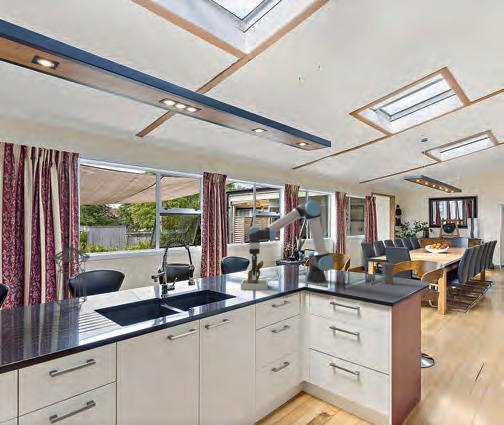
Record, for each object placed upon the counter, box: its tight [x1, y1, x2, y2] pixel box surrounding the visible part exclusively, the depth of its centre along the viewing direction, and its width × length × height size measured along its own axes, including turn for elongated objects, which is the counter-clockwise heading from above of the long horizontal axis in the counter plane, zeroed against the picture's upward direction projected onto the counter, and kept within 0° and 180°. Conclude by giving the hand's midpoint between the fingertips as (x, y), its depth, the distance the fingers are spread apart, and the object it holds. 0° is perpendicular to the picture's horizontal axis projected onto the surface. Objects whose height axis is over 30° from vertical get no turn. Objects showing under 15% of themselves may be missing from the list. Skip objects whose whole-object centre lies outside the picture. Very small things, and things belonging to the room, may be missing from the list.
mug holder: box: [240, 279, 269, 291], centre depth 234 cm, size 19×14×4 cm
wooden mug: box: [246, 260, 264, 284], centre depth 235 cm, size 9×14×18 cm, turn 121°
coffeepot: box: [375, 259, 397, 285], centre depth 247 cm, size 15×9×18 cm, turn 44°
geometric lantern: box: [50, 246, 91, 312], centre depth 179 cm, size 16×16×35 cm
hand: (254, 278), depth 234 cm, fingers open, 11 cm apart
